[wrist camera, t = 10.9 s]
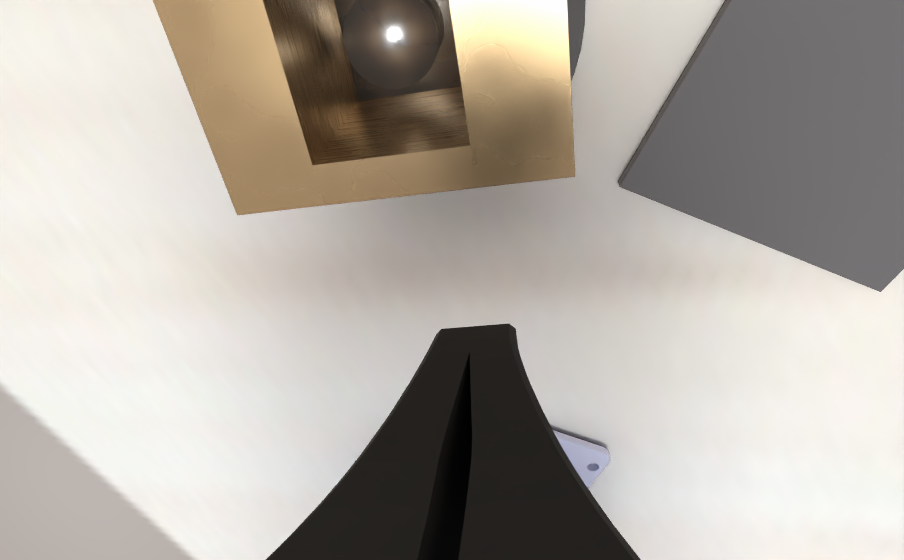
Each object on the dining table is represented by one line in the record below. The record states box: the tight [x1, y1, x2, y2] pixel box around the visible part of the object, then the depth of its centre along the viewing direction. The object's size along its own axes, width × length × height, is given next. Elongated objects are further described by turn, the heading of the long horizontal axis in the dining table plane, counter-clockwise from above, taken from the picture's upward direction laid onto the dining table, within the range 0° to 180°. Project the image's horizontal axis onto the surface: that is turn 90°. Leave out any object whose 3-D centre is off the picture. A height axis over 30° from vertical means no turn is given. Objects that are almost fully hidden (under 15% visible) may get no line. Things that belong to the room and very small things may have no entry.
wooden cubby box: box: [153, 0, 575, 215], centre depth 14 cm, size 6×8×5 cm
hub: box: [334, 0, 585, 101], centre depth 16 cm, size 10×10×3 cm
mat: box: [618, 0, 904, 292], centre depth 16 cm, size 12×10×1 cm
